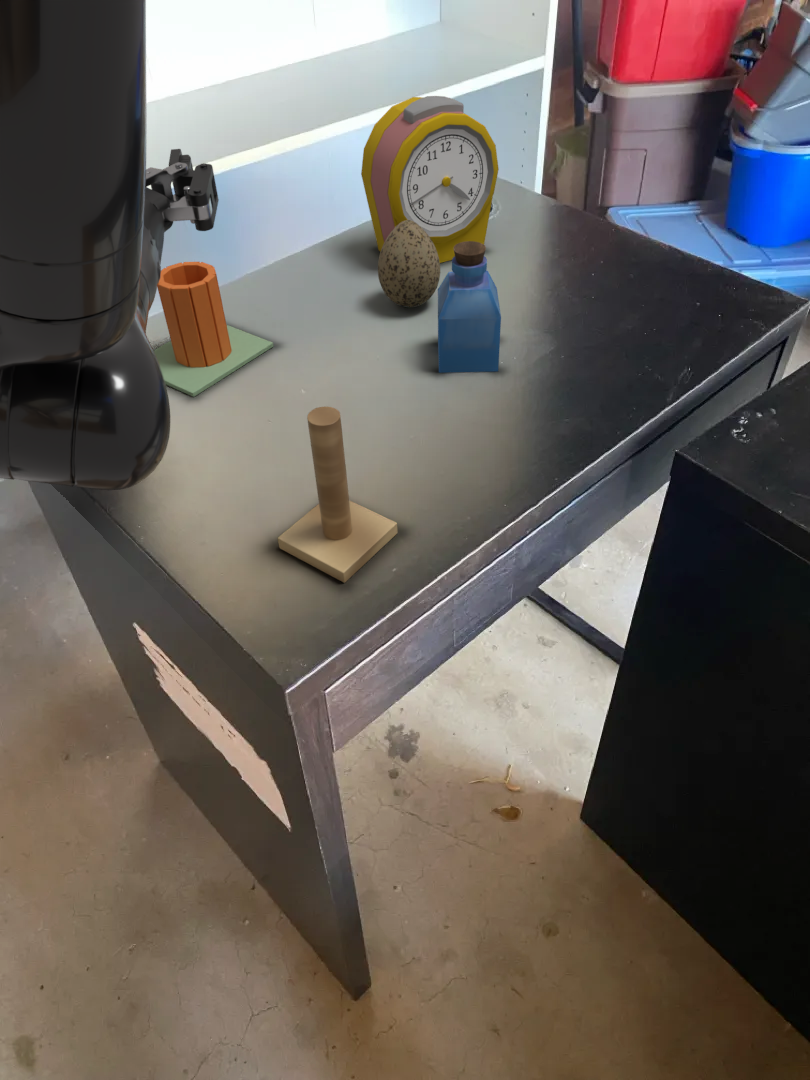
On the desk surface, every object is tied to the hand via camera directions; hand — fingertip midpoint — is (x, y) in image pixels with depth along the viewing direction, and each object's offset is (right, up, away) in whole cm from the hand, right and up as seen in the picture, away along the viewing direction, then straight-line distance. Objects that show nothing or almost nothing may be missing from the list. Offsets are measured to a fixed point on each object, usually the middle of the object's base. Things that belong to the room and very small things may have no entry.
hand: (121, 167), depth 62 cm
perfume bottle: (+28, -9, +26) cm, 39 cm away
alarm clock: (+25, +9, +45) cm, 52 cm away
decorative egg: (+22, -1, +35) cm, 41 cm away
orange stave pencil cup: (-1, -8, +27) cm, 28 cm away
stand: (+16, -28, +6) cm, 33 cm away
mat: (-1, -8, +28) cm, 29 cm away
